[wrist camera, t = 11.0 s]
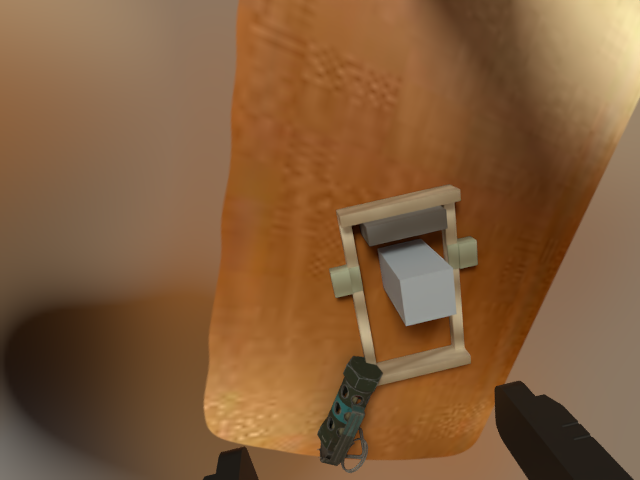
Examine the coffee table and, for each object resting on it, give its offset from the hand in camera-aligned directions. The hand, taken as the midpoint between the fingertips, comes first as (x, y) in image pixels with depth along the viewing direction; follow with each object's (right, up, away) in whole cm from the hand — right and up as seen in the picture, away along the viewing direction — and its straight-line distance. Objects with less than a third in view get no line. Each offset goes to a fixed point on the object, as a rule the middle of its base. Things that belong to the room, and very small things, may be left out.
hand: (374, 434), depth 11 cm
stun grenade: (+2, -15, +36) cm, 39 cm away
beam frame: (+8, +1, +31) cm, 32 cm away
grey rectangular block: (+8, +3, +30) cm, 31 cm away
